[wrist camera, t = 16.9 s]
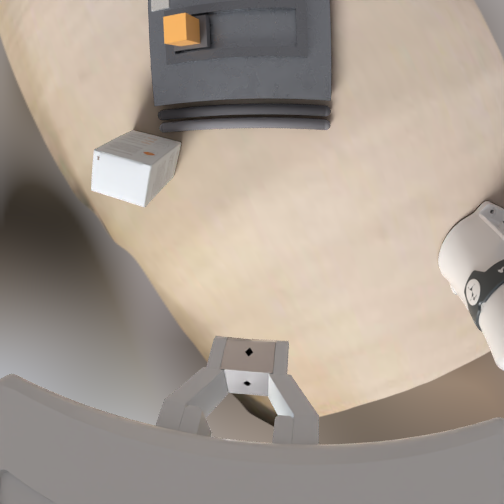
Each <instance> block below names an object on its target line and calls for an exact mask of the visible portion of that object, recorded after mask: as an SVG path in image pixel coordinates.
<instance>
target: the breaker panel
mask: <svg viewBox="0 0 504 504" xmlns="http://www.w3.org/2000/svg"><path fill="white" fill-rule="evenodd" d="M180 13H187V14H189V15H191V16H193V17H194V16H201V15H207V16H209V20H210V44H211V48H203V49H195V50H187V51H180V52H177V51H174V45H169V44H164V23H163V17H165V16H170V15H175V14H180ZM148 16H149V40H150V57H151V71H152V84H153V95H154V105H155V106H160V105H168V104H177V103H186V102H197V101H209V100H225V99H253V98H284V99H312V100H328V101H331V22H330V0H148Z"/></svg>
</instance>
